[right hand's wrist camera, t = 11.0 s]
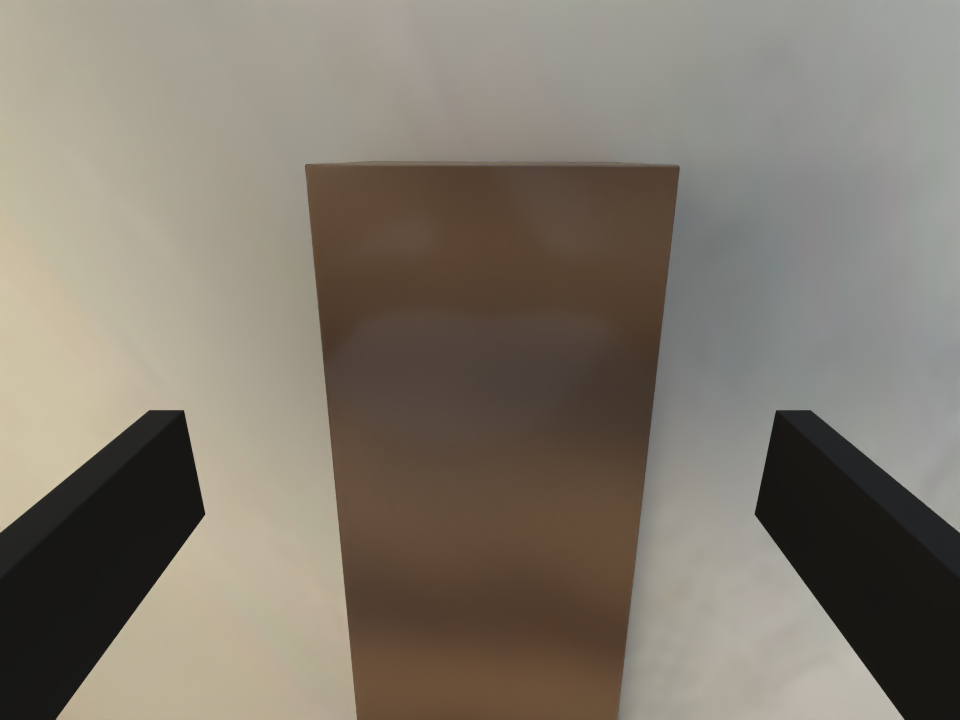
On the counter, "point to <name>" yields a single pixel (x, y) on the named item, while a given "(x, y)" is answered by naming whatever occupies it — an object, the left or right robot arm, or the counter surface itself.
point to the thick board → (490, 424)
